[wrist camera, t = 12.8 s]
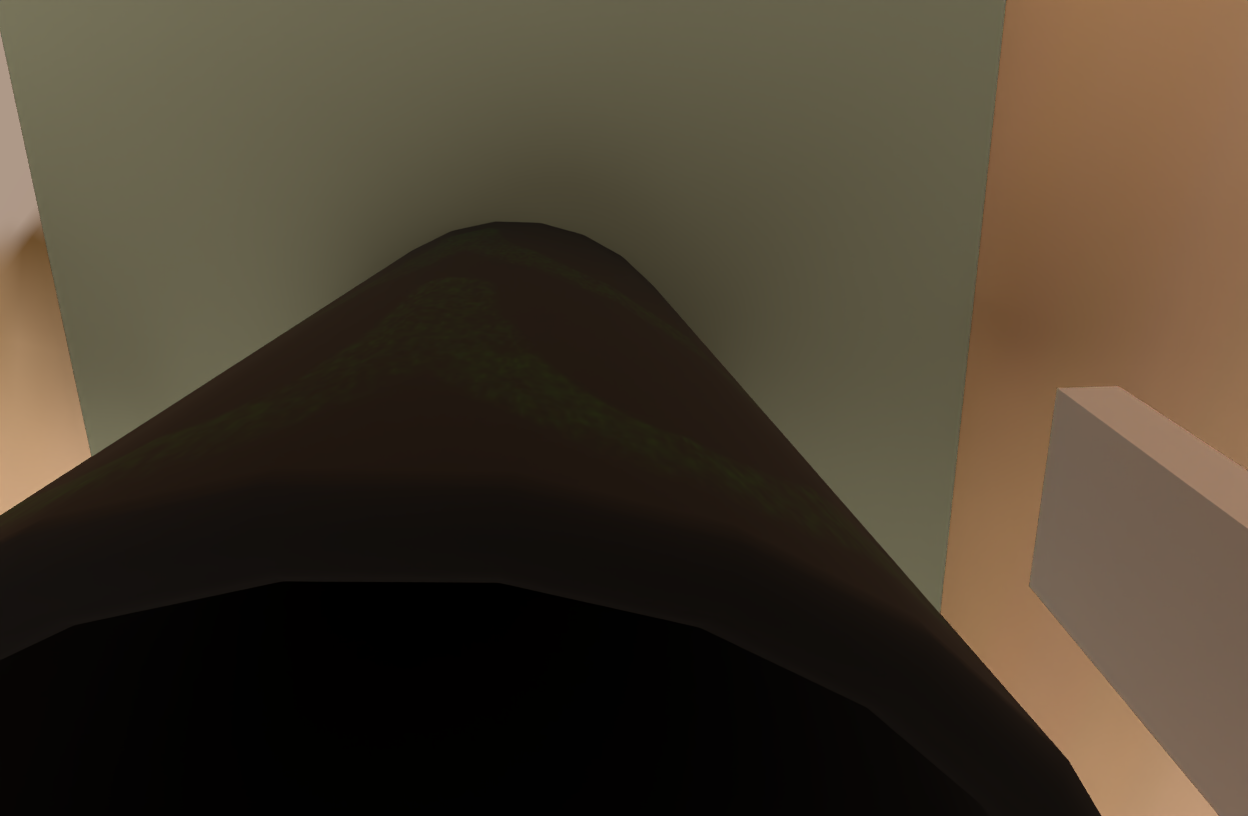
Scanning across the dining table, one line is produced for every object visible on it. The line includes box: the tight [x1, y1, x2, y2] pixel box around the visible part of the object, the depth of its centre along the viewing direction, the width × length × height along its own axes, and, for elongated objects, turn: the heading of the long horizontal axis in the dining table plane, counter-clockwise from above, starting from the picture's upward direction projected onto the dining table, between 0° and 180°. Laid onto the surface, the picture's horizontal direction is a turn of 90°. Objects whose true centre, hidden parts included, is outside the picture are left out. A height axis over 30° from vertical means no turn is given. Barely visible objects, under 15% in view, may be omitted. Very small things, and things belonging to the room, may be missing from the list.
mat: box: [0, 0, 1006, 613], centre depth 17 cm, size 14×14×1 cm
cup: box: [0, 221, 1101, 816], centre depth 11 cm, size 8×8×12 cm
